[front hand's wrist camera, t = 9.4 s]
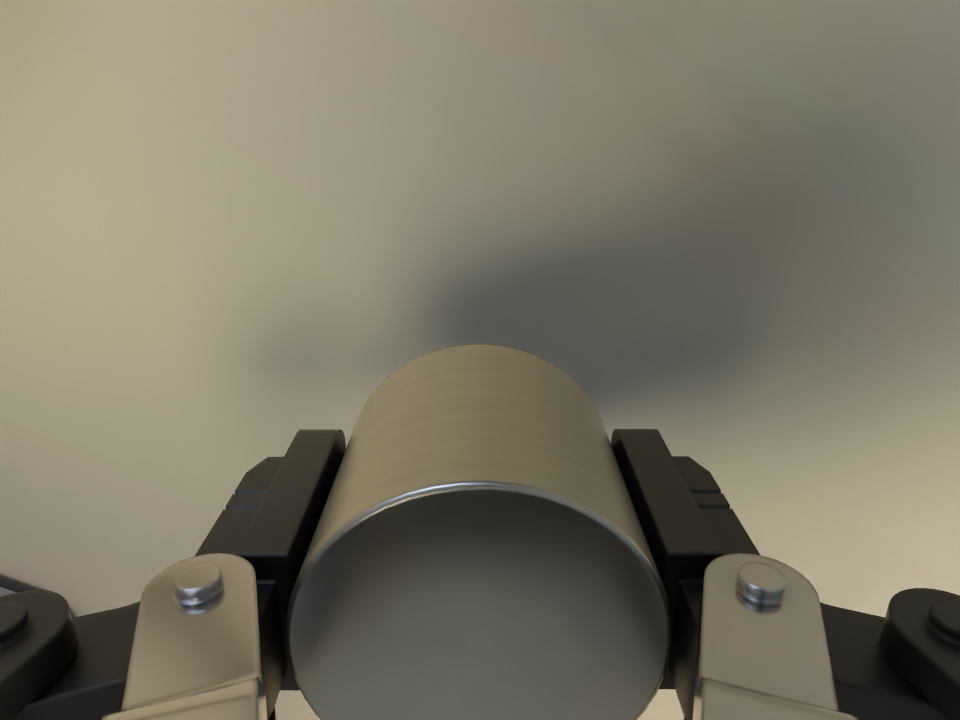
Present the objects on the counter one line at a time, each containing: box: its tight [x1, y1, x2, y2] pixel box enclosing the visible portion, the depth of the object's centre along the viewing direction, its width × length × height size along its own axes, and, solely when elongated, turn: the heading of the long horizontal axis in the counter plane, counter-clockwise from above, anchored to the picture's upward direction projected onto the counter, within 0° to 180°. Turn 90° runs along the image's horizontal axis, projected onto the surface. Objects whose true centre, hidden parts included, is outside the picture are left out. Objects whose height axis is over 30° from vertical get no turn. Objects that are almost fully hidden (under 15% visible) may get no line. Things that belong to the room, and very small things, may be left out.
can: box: [286, 345, 672, 720], centre depth 10 cm, size 5×5×4 cm
